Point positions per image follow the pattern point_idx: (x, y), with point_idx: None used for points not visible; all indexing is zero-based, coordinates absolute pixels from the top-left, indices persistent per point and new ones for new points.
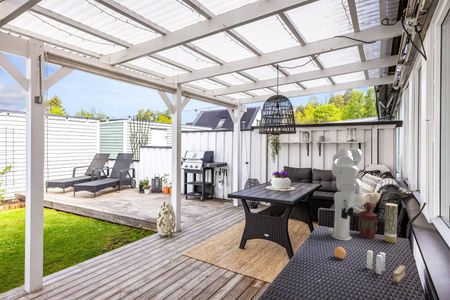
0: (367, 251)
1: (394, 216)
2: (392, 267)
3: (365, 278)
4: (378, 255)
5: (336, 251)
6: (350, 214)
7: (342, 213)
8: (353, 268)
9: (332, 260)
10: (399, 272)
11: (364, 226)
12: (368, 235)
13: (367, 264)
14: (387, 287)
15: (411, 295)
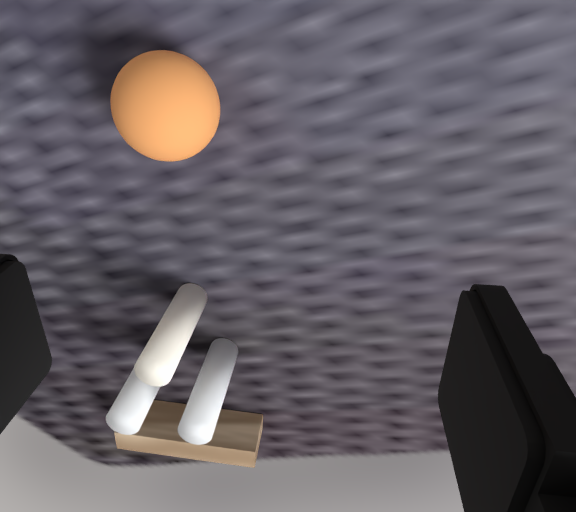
0: (141, 357)
1: None
2: (318, 384)
3: None
4: (124, 418)
5: (112, 92)
6: (454, 382)
7: None
8: (95, 227)
9: (84, 67)
10: (142, 450)
11: None
12: None
13: (171, 301)
14: (44, 384)
15: (67, 446)
